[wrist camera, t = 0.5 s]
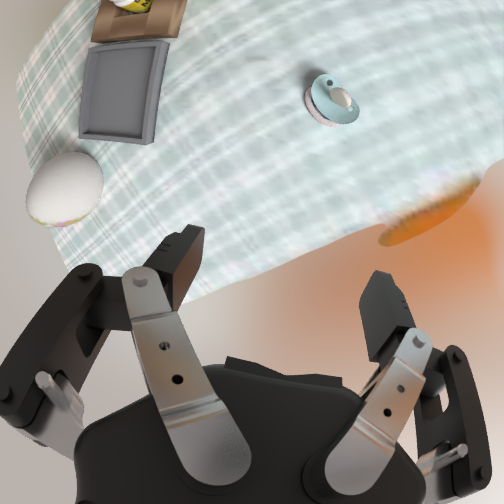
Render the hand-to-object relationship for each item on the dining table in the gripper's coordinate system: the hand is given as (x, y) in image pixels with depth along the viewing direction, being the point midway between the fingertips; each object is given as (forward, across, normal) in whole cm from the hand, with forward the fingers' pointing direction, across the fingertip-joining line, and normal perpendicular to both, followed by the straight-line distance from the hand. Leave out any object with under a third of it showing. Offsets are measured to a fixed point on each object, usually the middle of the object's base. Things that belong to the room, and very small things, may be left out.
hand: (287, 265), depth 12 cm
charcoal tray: (+28, +28, -6) cm, 40 cm away
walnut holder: (+28, +26, -22) cm, 44 cm away
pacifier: (+28, -3, -8) cm, 30 cm away
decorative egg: (+28, +35, +10) cm, 46 cm away
